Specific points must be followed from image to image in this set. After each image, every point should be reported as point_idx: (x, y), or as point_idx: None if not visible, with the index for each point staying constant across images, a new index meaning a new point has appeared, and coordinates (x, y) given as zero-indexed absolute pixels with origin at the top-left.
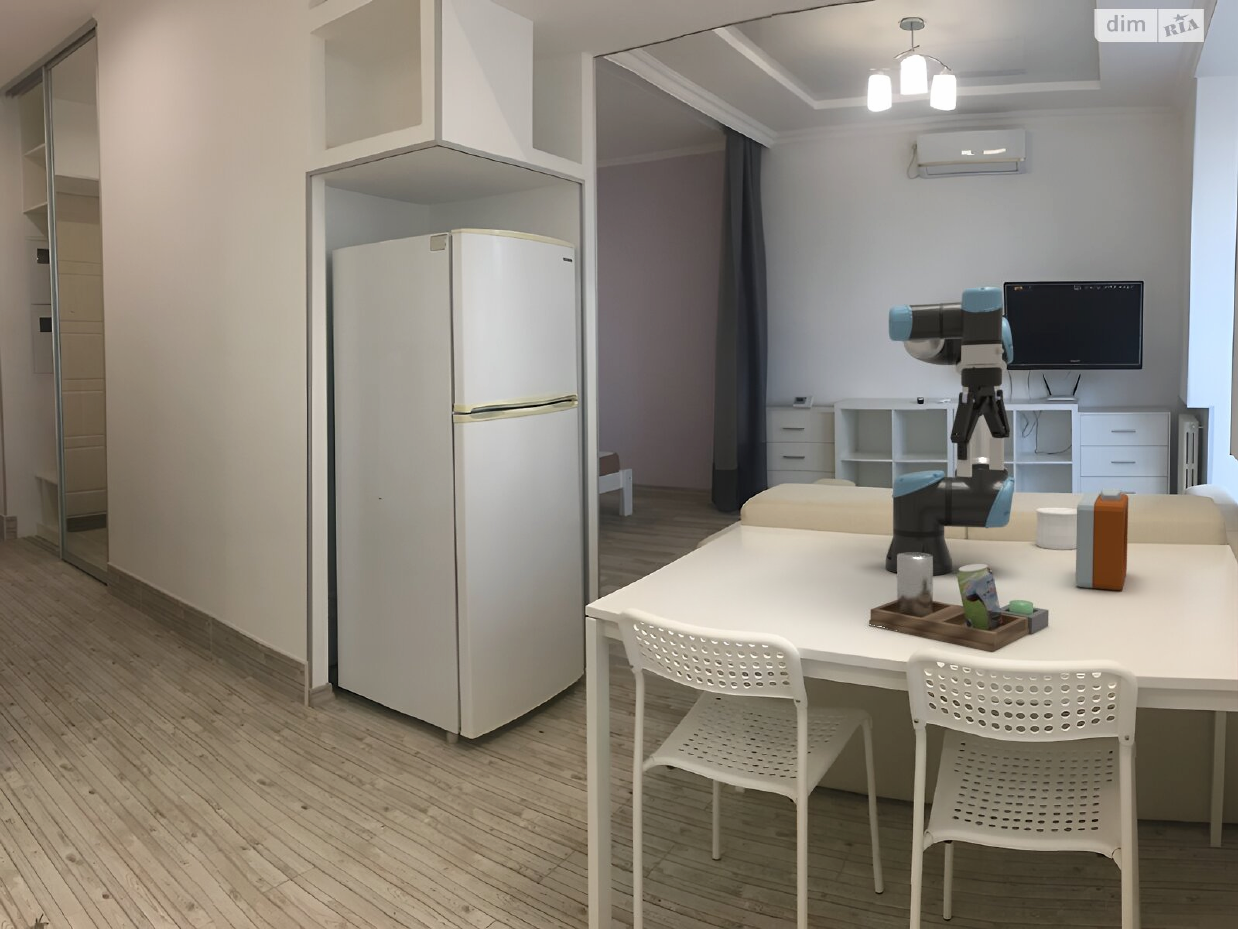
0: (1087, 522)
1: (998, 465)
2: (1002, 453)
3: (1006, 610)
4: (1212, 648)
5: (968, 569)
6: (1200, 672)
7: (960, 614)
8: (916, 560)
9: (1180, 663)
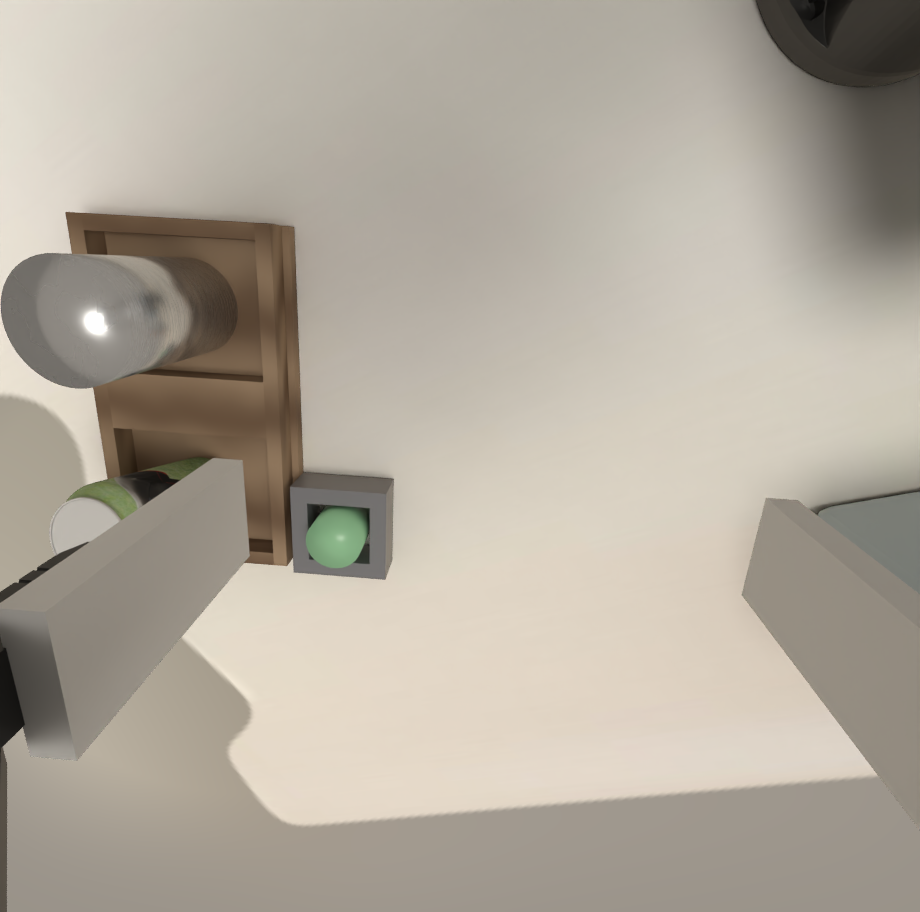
0: None
1: (766, 587)
2: (817, 689)
3: (325, 503)
4: (433, 796)
5: (68, 533)
6: (287, 799)
7: (205, 434)
8: (23, 357)
9: (312, 774)
